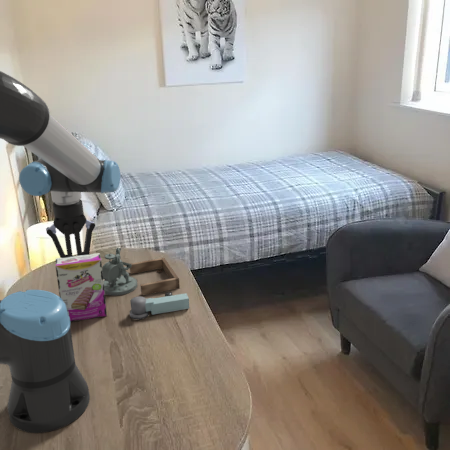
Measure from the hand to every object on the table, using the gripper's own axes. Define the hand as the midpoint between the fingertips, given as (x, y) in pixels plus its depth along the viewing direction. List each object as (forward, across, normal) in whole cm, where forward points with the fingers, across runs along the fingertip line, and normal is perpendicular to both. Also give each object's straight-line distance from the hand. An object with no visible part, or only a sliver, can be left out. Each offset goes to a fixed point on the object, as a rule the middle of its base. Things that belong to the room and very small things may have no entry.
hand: (78, 280), depth 141 cm
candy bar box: (+4, 0, -13) cm, 14 cm away
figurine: (+5, +11, 0) cm, 12 cm away
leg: (+4, +18, -19) cm, 27 cm away
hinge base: (+4, +17, -17) cm, 24 cm away
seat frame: (+4, +20, 0) cm, 21 cm away
